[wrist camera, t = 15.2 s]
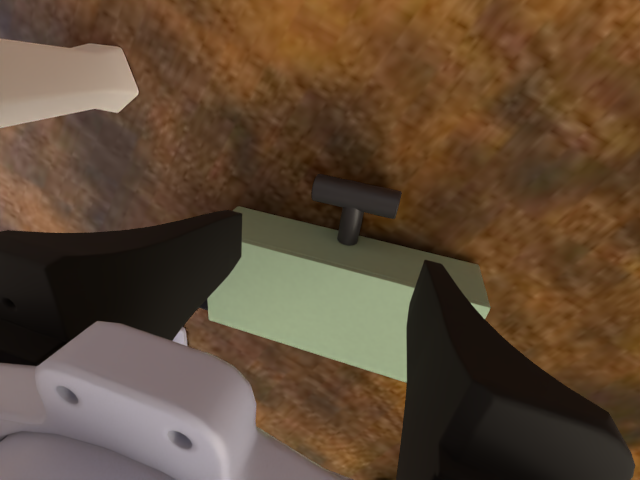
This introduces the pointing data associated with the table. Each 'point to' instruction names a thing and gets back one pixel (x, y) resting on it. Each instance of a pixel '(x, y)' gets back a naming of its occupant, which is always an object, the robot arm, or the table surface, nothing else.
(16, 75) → the perfume bottle
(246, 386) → the robot arm
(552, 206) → the table surface
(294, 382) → the table surface
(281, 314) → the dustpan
